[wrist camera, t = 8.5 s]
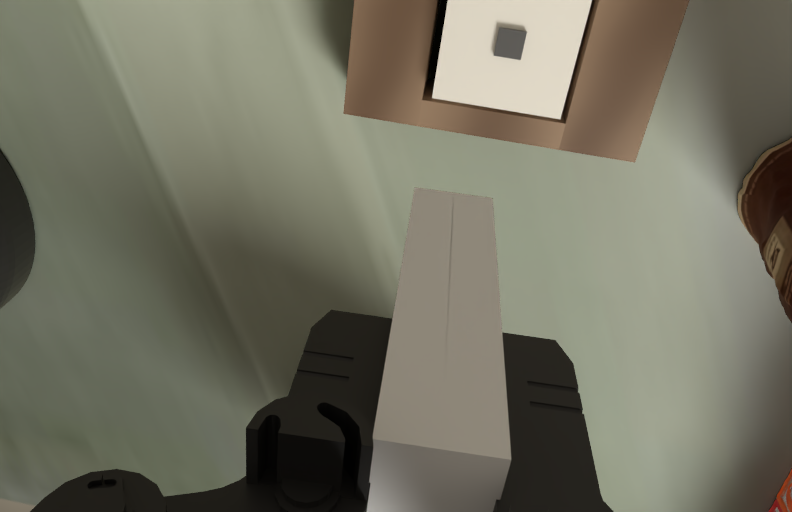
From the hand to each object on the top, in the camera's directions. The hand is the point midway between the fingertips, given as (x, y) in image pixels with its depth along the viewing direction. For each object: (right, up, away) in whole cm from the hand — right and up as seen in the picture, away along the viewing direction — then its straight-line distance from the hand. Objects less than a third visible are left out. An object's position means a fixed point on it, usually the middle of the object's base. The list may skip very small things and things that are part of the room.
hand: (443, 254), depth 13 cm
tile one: (+4, +9, +14) cm, 17 cm away
